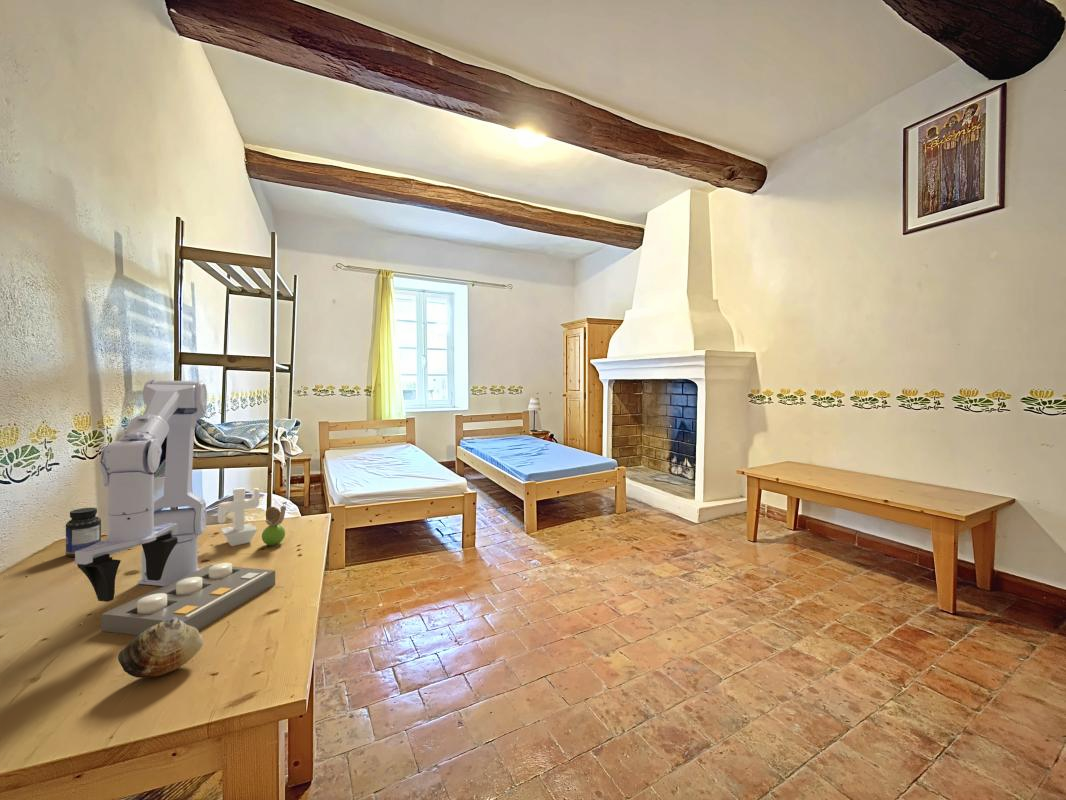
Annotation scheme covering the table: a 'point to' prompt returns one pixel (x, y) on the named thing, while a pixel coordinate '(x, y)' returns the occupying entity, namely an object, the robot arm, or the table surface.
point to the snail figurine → (274, 526)
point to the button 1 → (151, 604)
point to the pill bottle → (82, 530)
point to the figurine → (239, 516)
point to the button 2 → (220, 571)
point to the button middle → (188, 586)
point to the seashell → (160, 649)
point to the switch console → (192, 601)
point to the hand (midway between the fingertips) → (131, 589)
